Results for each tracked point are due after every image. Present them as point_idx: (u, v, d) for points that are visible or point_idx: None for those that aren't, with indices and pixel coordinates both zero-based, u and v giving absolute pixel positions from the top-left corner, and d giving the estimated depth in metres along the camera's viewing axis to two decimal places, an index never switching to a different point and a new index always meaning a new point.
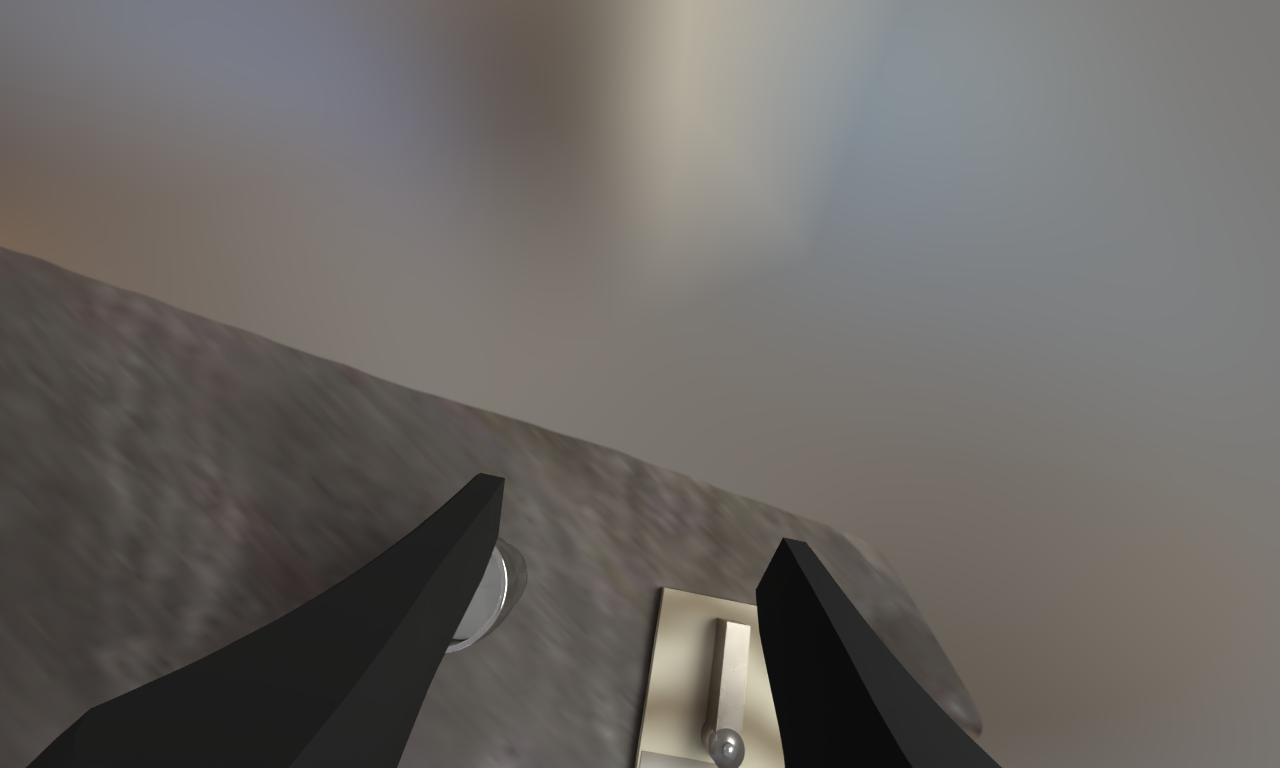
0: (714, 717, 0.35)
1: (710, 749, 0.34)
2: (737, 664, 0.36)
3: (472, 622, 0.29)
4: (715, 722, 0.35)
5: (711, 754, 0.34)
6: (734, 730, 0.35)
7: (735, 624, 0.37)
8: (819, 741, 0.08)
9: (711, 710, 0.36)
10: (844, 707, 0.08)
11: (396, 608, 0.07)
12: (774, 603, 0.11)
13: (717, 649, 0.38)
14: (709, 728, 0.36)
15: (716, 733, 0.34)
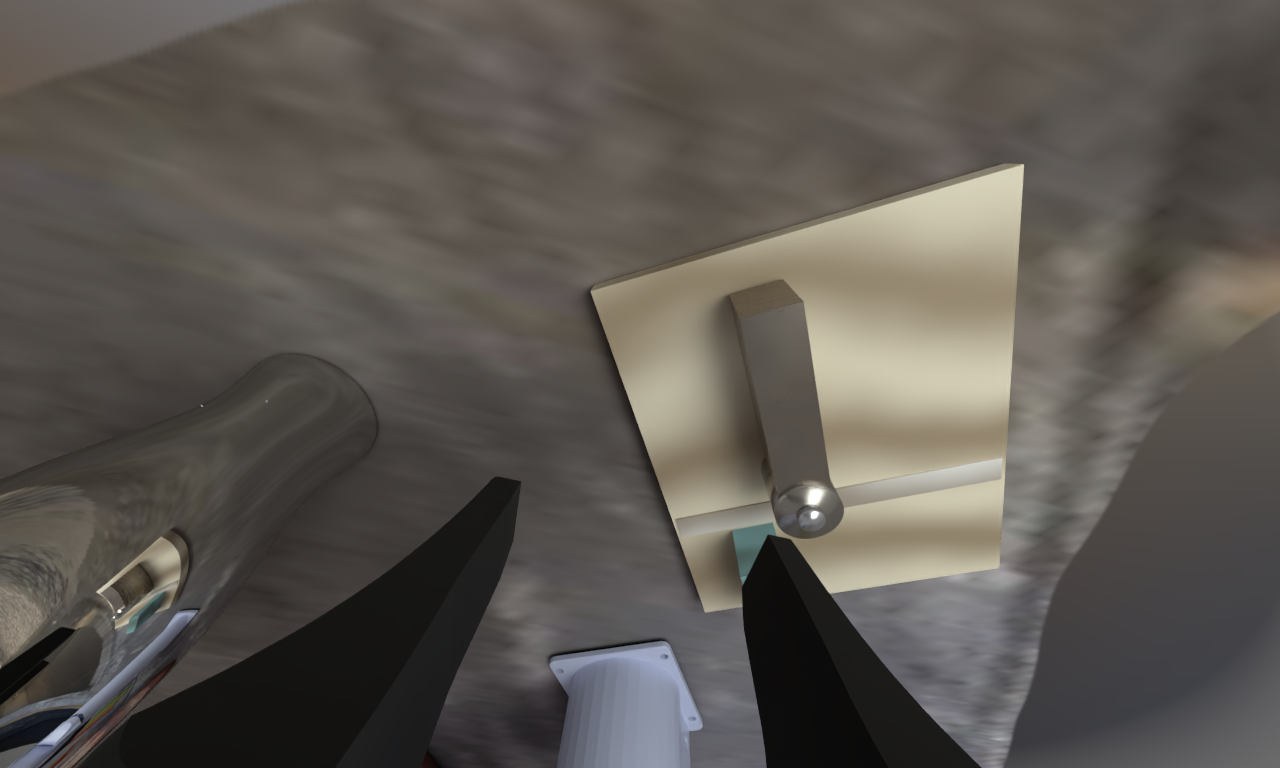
0: (771, 471, 0.18)
1: None
2: (790, 388, 0.15)
3: None
4: (774, 481, 0.18)
5: None
6: (815, 484, 0.17)
7: (762, 315, 0.14)
8: (799, 737, 0.08)
9: (765, 452, 0.19)
10: (822, 703, 0.08)
11: (422, 614, 0.07)
12: (758, 600, 0.11)
13: (745, 359, 0.17)
14: (769, 479, 0.19)
15: (779, 500, 0.18)
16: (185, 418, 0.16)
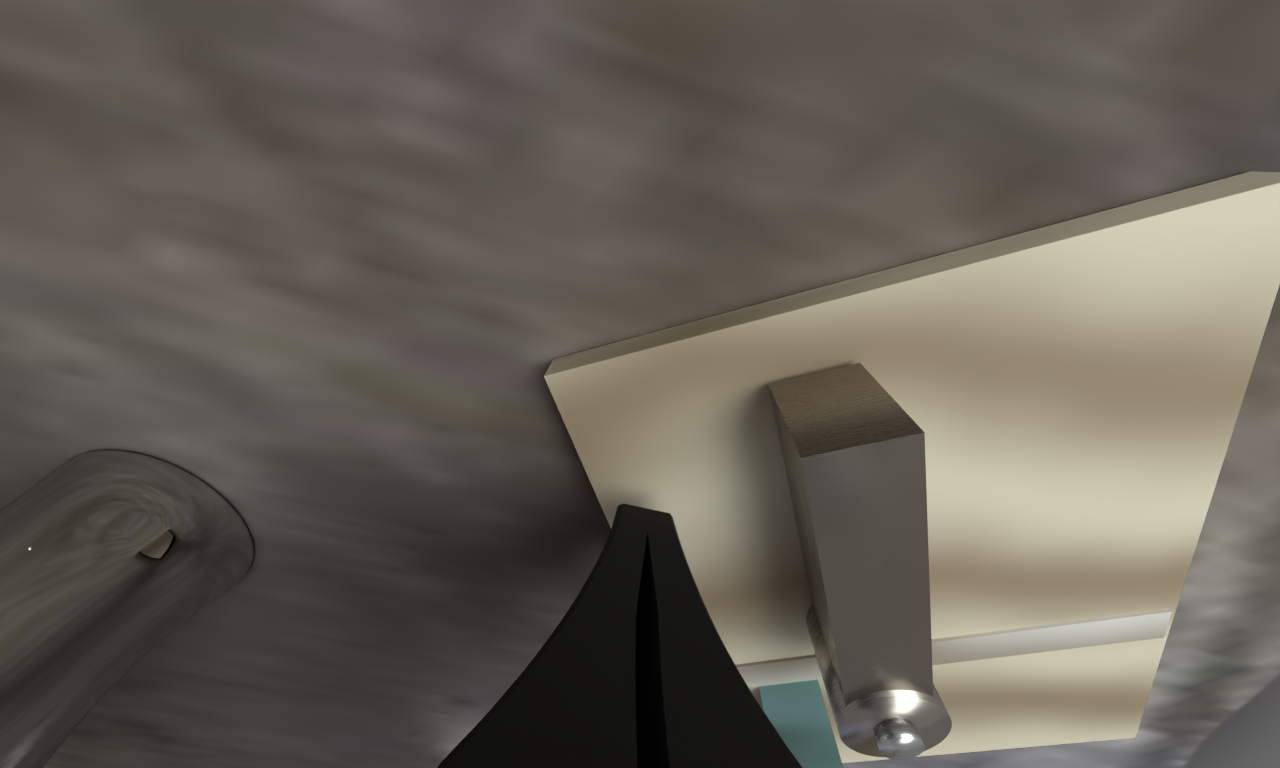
0: (832, 655, 0.11)
1: (838, 729, 0.12)
2: (883, 563, 0.09)
3: None
4: (837, 675, 0.11)
5: None
6: (908, 690, 0.11)
7: (844, 453, 0.08)
8: None
9: (819, 615, 0.12)
10: (648, 669, 0.08)
11: (622, 652, 0.07)
12: None
13: (794, 491, 0.10)
14: (824, 653, 0.12)
15: (847, 707, 0.11)
16: None
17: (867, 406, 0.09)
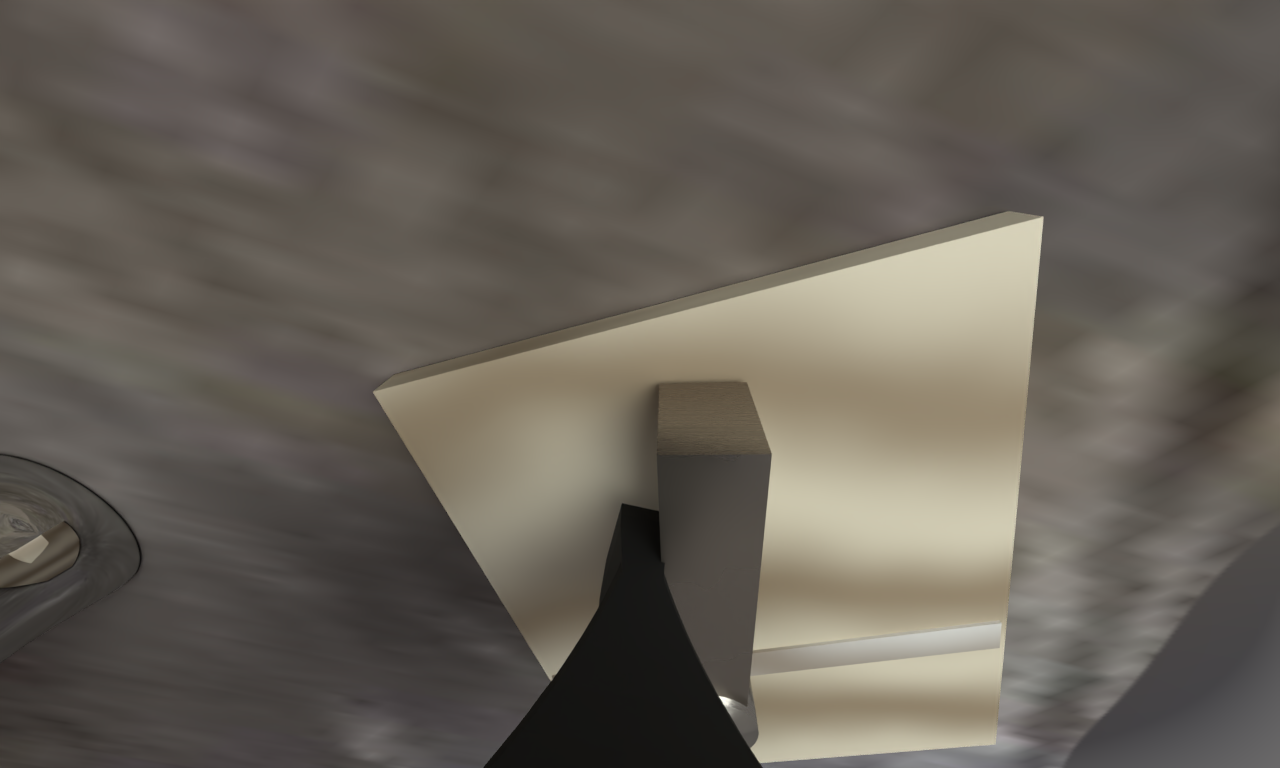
0: None
1: None
2: (719, 572, 0.09)
3: None
4: None
5: None
6: (725, 697, 0.11)
7: (697, 459, 0.08)
8: None
9: None
10: None
11: (650, 658, 0.07)
12: (608, 569, 0.11)
13: None
14: None
15: None
16: None
17: (735, 421, 0.09)
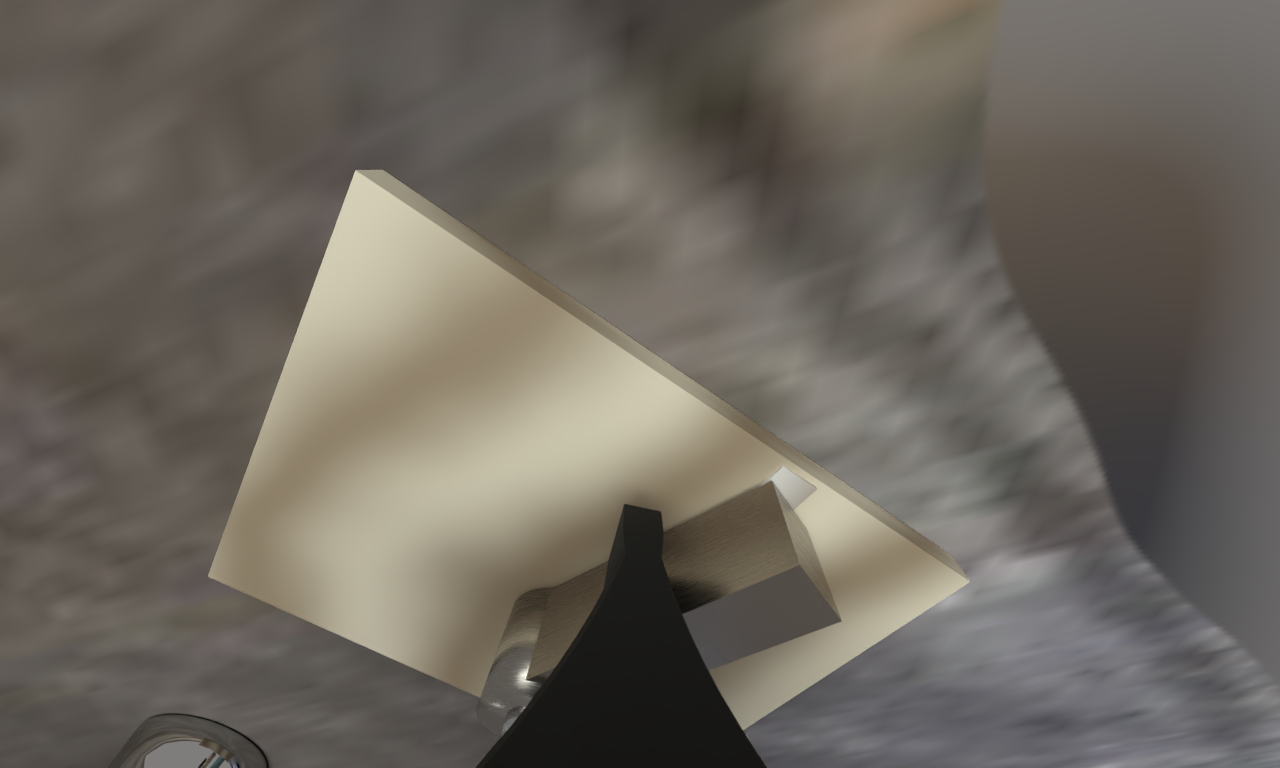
0: (556, 642, 0.12)
1: (489, 685, 0.12)
2: (709, 644, 0.11)
3: None
4: (546, 658, 0.12)
5: (483, 692, 0.12)
6: None
7: (810, 587, 0.10)
8: None
9: (570, 608, 0.13)
10: None
11: (645, 656, 0.07)
12: (610, 570, 0.11)
13: (699, 545, 0.12)
14: (534, 629, 0.13)
15: (526, 682, 0.12)
16: None
17: (817, 568, 0.11)
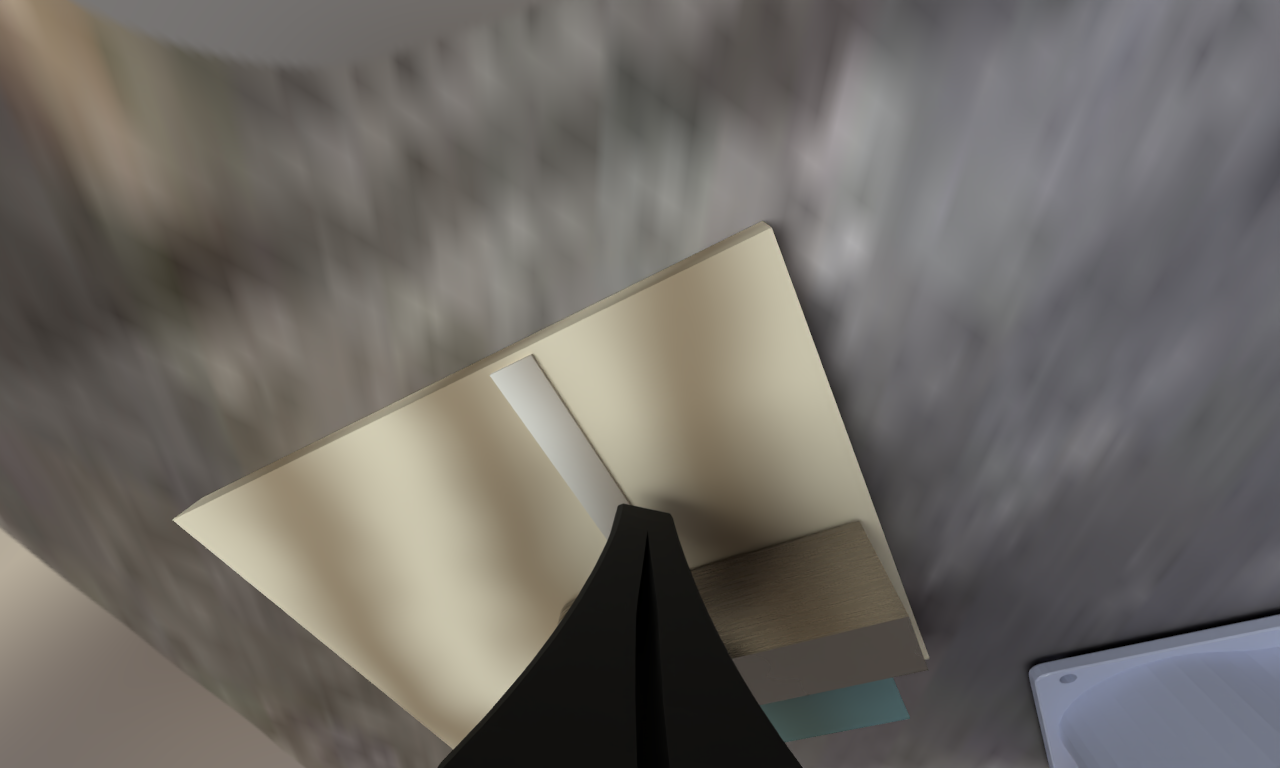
0: None
1: None
2: (792, 676, 0.11)
3: None
4: None
5: None
6: None
7: (911, 637, 0.10)
8: None
9: None
10: (648, 669, 0.08)
11: (622, 652, 0.07)
12: None
13: (784, 576, 0.12)
14: None
15: None
16: None
17: None
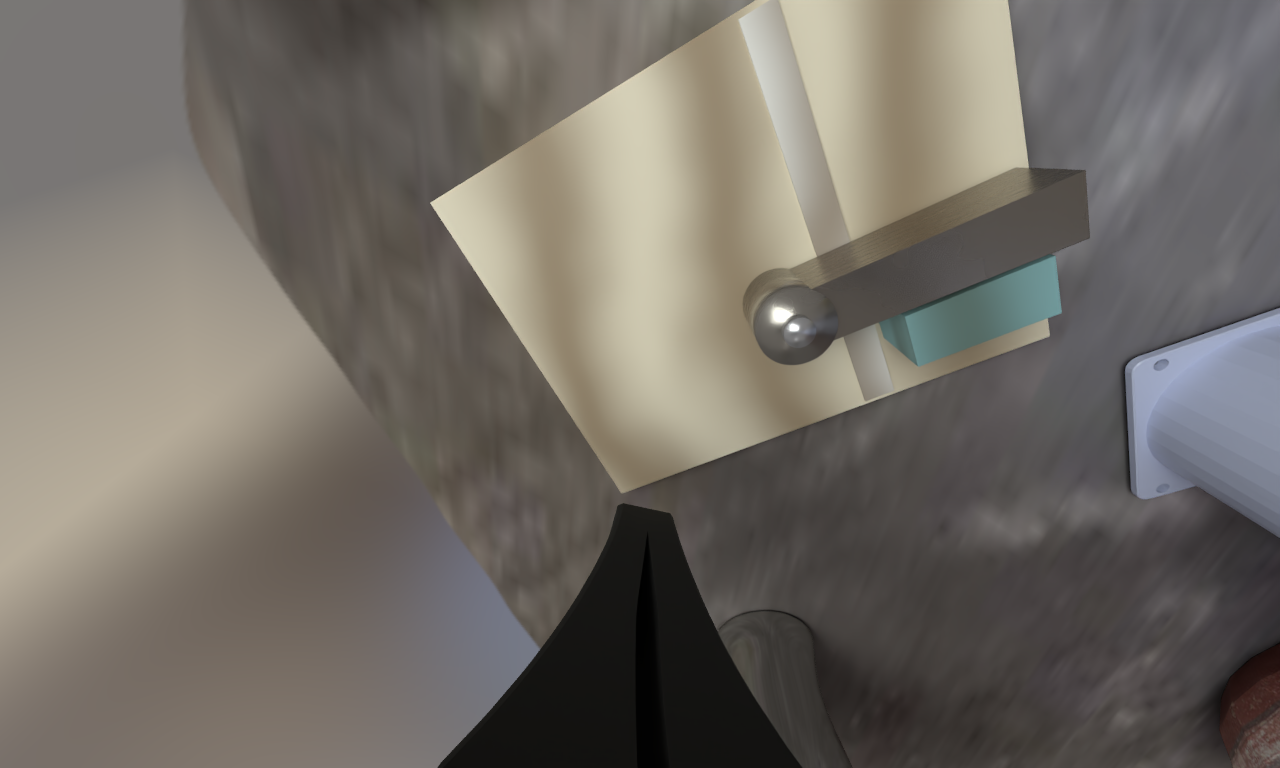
0: (829, 272, 0.15)
1: (775, 295, 0.15)
2: (978, 256, 0.14)
3: None
4: (825, 278, 0.15)
5: (768, 302, 0.15)
6: (836, 323, 0.15)
7: (1082, 196, 0.13)
8: None
9: (827, 263, 0.16)
10: (648, 669, 0.08)
11: (622, 652, 0.07)
12: None
13: (959, 203, 0.15)
14: (795, 277, 0.16)
15: (812, 290, 0.14)
16: None
17: None
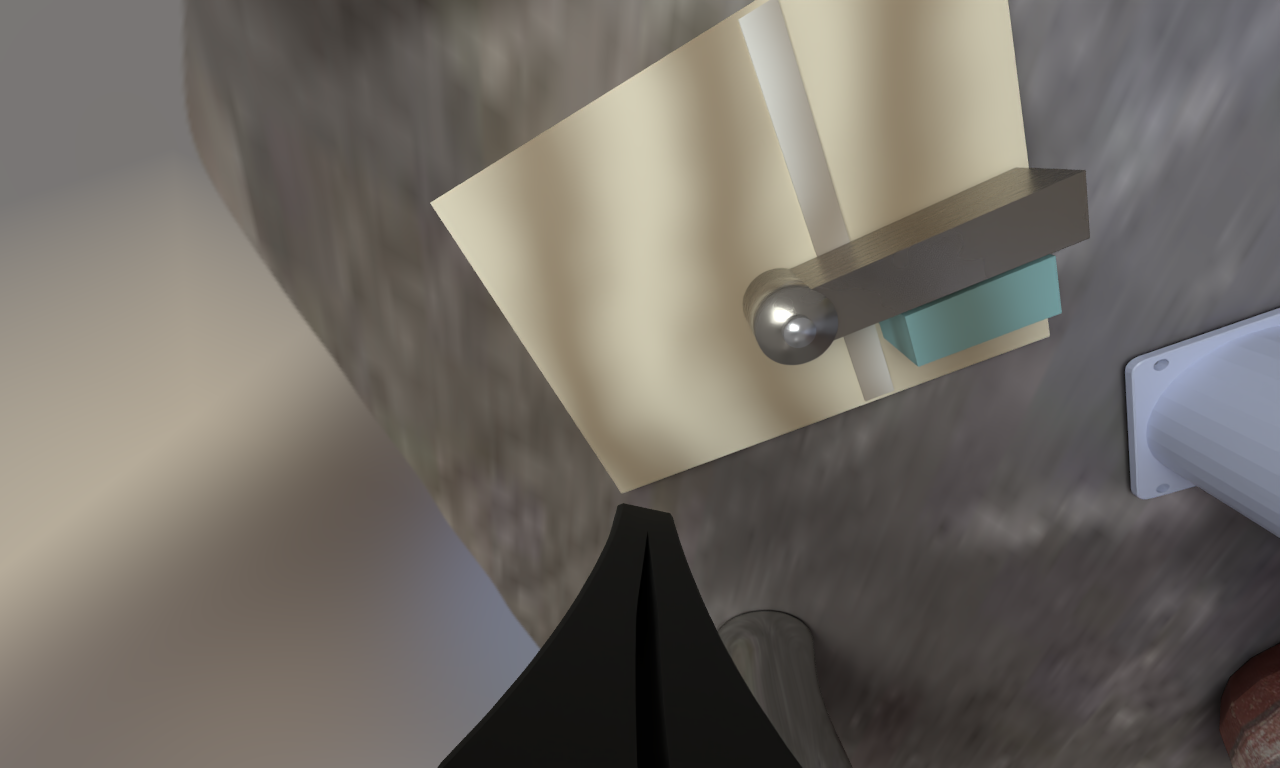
0: (829, 272, 0.15)
1: (775, 295, 0.15)
2: (978, 256, 0.14)
3: None
4: (825, 278, 0.15)
5: (768, 302, 0.15)
6: (836, 323, 0.15)
7: (1082, 196, 0.13)
8: None
9: (827, 263, 0.16)
10: (648, 669, 0.08)
11: (622, 652, 0.07)
12: None
13: (959, 203, 0.15)
14: (795, 277, 0.16)
15: (812, 290, 0.14)
16: None
17: None
